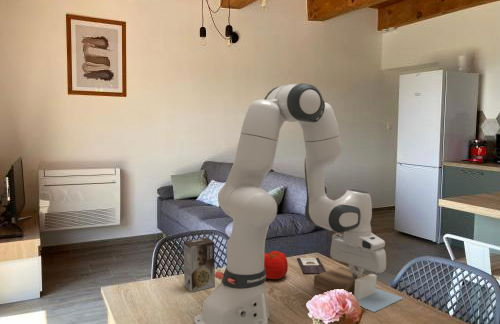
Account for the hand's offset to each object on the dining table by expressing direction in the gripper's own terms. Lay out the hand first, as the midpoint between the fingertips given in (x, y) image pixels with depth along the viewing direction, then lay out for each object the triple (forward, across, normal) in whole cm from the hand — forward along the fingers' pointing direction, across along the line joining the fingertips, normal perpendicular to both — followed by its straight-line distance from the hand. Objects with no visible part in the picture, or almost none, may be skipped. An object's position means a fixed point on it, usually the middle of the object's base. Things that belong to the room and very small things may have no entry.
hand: (356, 278), depth 140 cm
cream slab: (+2, +3, 0) cm, 3 cm away
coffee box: (+5, -38, -38) cm, 54 cm away
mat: (+5, +7, 0) cm, 8 cm away
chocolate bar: (+6, -27, +8) cm, 29 cm away
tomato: (+5, -28, -12) cm, 31 cm away
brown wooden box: (+5, -6, 0) cm, 8 cm away
